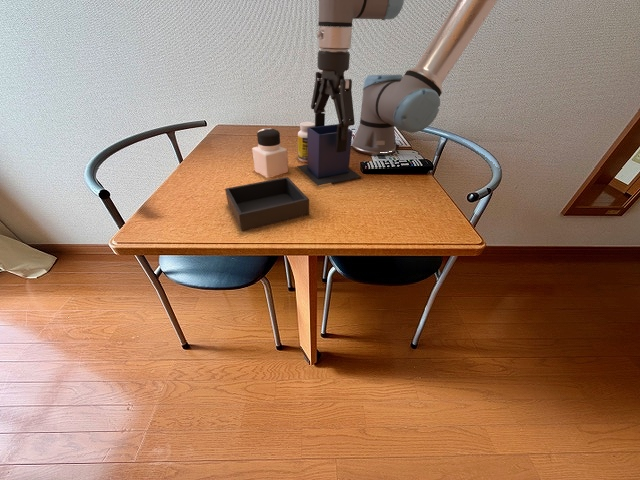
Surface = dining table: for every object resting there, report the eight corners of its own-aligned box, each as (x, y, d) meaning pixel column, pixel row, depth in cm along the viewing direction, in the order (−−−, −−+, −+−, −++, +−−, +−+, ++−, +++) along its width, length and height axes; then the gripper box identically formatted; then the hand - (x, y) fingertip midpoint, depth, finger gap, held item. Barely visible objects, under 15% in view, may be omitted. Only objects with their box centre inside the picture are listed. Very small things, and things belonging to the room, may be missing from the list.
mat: (336, 161, 92) (336, 159, 92) (361, 178, 82) (361, 176, 82) (296, 168, 87) (296, 166, 86) (317, 187, 77) (317, 185, 77)
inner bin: (336, 164, 88) (339, 123, 81) (348, 172, 83) (352, 130, 76) (307, 169, 85) (307, 127, 77) (318, 179, 80) (319, 135, 72)
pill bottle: (301, 164, 89) (301, 127, 83) (295, 156, 94) (294, 121, 87) (320, 161, 91) (321, 125, 84) (313, 154, 96) (313, 120, 89)
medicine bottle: (288, 173, 83) (286, 131, 76) (267, 180, 80) (263, 136, 72) (274, 165, 88) (271, 125, 80) (254, 171, 84) (249, 129, 77)
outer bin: (288, 193, 74) (287, 176, 71) (309, 216, 65) (309, 199, 62) (228, 205, 68) (224, 188, 65) (242, 233, 59) (238, 215, 57)
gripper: (298, 46, 73) (299, 133, 86) (347, 55, 56) (339, 161, 69) (324, 46, 76) (321, 130, 89) (378, 54, 59) (365, 157, 72)
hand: (329, 144), depth 79 cm, fingers open, 12 cm apart
